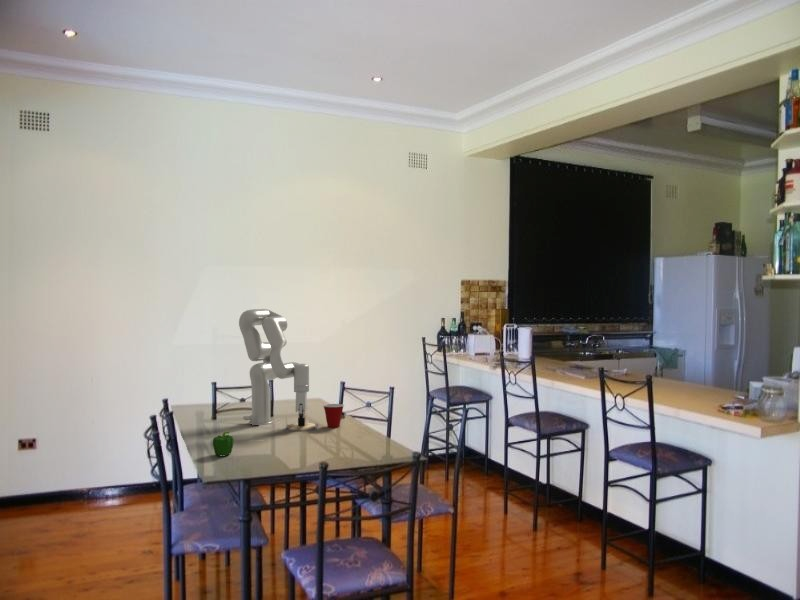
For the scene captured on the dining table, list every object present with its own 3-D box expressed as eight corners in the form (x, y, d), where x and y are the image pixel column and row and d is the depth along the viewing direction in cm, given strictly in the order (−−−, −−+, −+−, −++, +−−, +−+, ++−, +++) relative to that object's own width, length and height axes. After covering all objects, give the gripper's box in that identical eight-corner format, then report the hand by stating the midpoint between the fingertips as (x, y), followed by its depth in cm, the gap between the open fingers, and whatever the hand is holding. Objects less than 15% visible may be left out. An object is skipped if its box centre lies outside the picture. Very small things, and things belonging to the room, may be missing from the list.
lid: (286, 431, 296) (286, 417, 296) (288, 424, 310) (288, 411, 310) (315, 430, 298) (315, 416, 298) (316, 424, 312) (316, 410, 312)
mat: (284, 433, 295) (284, 431, 295) (287, 425, 311) (287, 424, 311) (317, 432, 297) (317, 431, 297) (318, 425, 313) (318, 423, 313)
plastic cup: (346, 425, 312) (346, 402, 311) (342, 430, 301) (342, 406, 301) (325, 425, 313) (325, 402, 312) (320, 430, 302) (320, 406, 302)
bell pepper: (212, 458, 251) (212, 434, 251) (213, 453, 259) (212, 430, 259) (233, 457, 254) (233, 433, 254) (233, 452, 262) (233, 429, 261)
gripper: (295, 385, 312) (295, 421, 312) (292, 391, 295) (292, 428, 295) (309, 385, 313) (310, 420, 313) (308, 391, 296) (308, 428, 296)
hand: (301, 424), depth 304 cm, fingers open, 5 cm apart
